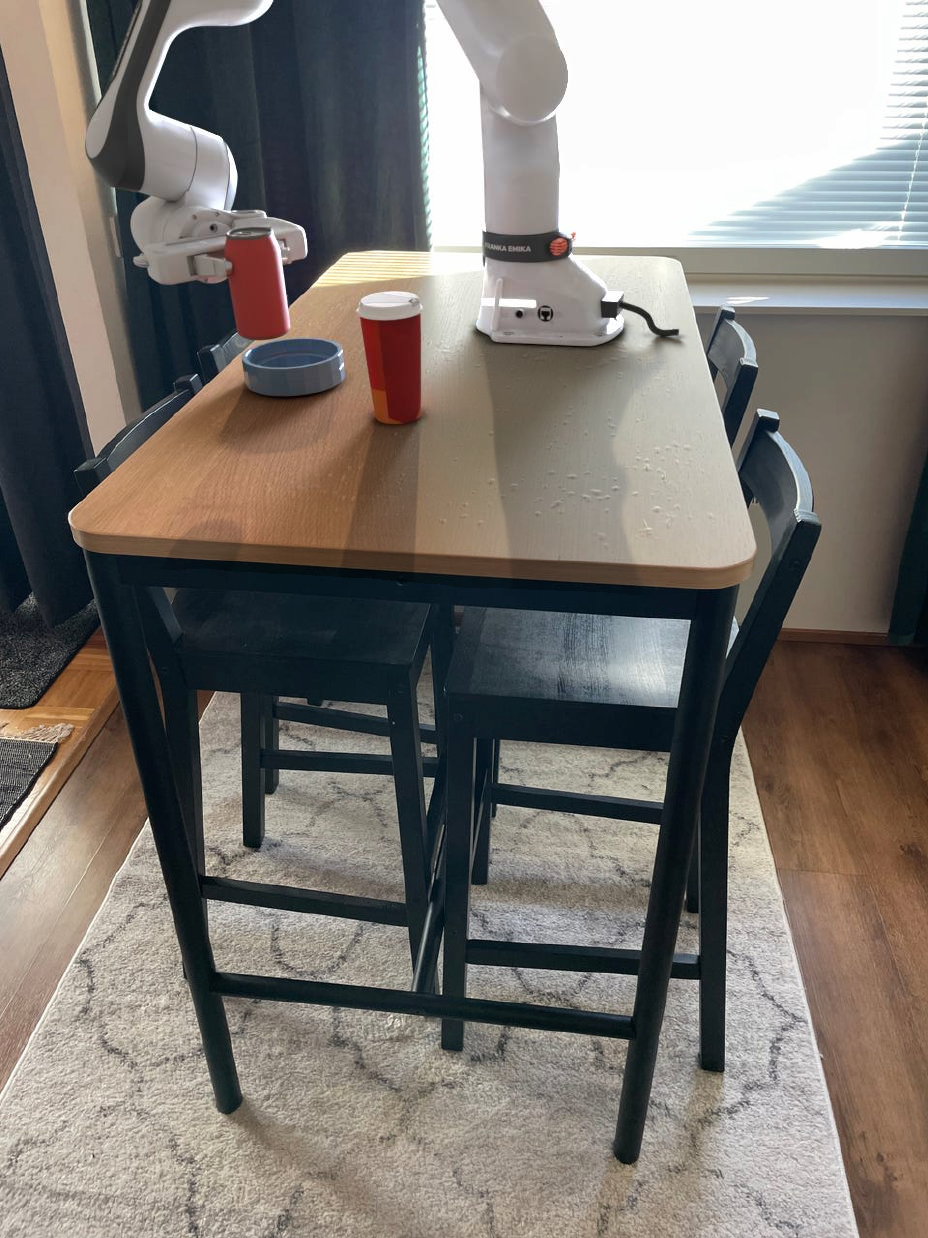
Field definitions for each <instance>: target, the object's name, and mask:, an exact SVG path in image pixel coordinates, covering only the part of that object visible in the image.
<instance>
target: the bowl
mask: <svg viewBox="0 0 928 1238" xmlns="http://www.w3.org/2000/svg"><path fill="white" fill-rule="evenodd" d="M344 362H345V361H344V352H343V348H342V345H341V344H339V343H338V342H336V341H333V340H330V339H326V338H319V337H290V338H289V337H288V338H281V339H276V340H268V341H266V342H263V343H259V344H256V345H254V346H252V347H249V348H248V349H247V350H245V351H244V352H243V353H242V354H241V365H242V369H243V376H244V382H245V386H246V388H247V389H248V390H249V391H251V392H254V393H256V394H259V395H264V396H270V397H294V396H304V395H310V394H316V393H320V392H323V391H326V390H329V389H332V388H334V387H336V386H337V385H339V384H341V383H342V382H343V381H344V380H345V378H346V373H345V371H346V370H345V363H344Z"/></svg>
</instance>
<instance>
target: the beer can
mask: <svg viewBox="0 0 928 1238" xmlns="http://www.w3.org/2000/svg"><path fill="white" fill-rule="evenodd" d="M226 237H227V238H226V242H225V249H224V255H225V258H227V259H230V260H231V261H232V264H233V266H232V269H233V271H234V274H233V275H230V276H228V278H227V279H228V285H229V291H230V297H231V303H232V307H233V308H232V309H233V314H234V320H235V321H234V322H235V327H236V332H237V334H238V335H239V336H240V337H241V338H243V339H246V340H249V341H271V340H274V339H278V338H281V337H283V336H286V335H287V334H288V333H289V332H290V330H291V321H290V320H291V319H290V313H289V307H288V298H287V291H286V283H285V276H284V268H283V265H282V260H281V252H280V248H279V245H278V243H277V241H276V239H275V237H274V235H273V230H272V229H270V228H266V227H245V228H238V229H233V230H230V231H228V232H227V233H226Z"/></svg>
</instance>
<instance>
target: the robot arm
mask: <svg viewBox="0 0 928 1238" xmlns="http://www.w3.org/2000/svg"><path fill="white" fill-rule="evenodd" d="M273 2H274V0H138V1H137V3H136V5H135V9H134V11H133V13H132V16H131V20H130V22H129V25H128V28H127V30H126V34H125V35H124V39H123V41H122V44H121V47H120V50H119V52H118V54H117V58H116V61H115V63H114V66H113V68H112V71H111V73H110V77H109V78H108V82H107V84H106V86H105V89H104V90H103V93H102V95H101V97H100V99H99V101H98V103H97V104H96V106H95V109H94V110H93V112H92V115H91V117H90V118H91V119H90V121H89V123H88V126H87V129H86V134H85V141H84V151H85V155H86V157H87V159H88V162H89V164H90V165H91V167H92V168H93V170H94V172H95V173H96V174H97V176H98V177H99V178H100V179H101V180H102V182H104V183H105V185H106V186H108V187H110V188H113V189H119V190H123V191H128V192H133V193H140V194H144V195H148V197H147V198H146V199H145V200H143V201H142V202H140V203H139V204H138V205H137V206H135V208H134V210H133V211H132V214H131V217H130V230H131V231H130V232H131V234H132V238H133V240H134V242H135V244H136V245H137V247H138V249H139V250H140V251H141V253H140V254H139V255H138V256H133V260H132V261H133V263H134V265H135V266H137V267H140V268H146V269H147V273H148V276H149V277H151V279H152V280H154V281H155V282H157V283H159V284H160V285H165V286H171V285H178V284H183V283H188V282H193V281H199V282H200V283H204V284H218V283H221V282H223V281H225V280H227V279H228V276H230V275H233V274H234V271H233V269H232V266H233V264H232V261H231V260H230V259H227V258H225V255H224V249H225V242H226V238H227V237H226V233H227V232H228V231H230V230H233V229H238V228H245V227H266V228H270V229H272V230H273V235H274V237H275V239H276V241H277V243H278V245H279V248H280V252H281V260H282V266H284V265H290V264H292V262H294V261H299V260H303V259H305V258H306V257H307V254H308V242H307V236H306V232H305V229H304V228H303V227H302V226H300V225H298V224H295V223H293V222H291V221H287V220H284V219H281V218H276V217H269V216H267V215H266V212H265V211H264V210H260V209H241V210H240V209H239V210H232V207H233V204H234V202H235V198H236V194H237V186H238V172H237V168H236V164H235V160H234V157H233V154H232V152H231V149H230V148H229V146H228V144H227V143H226V142H225V140H224V139H223V138H222V137H221V136H220V135H216V134H214V133H211V132H209V131H207V130H205V129H202V128H200V127H196V126H194V125H191V124H188V123H184V122H182V121H179V120H176V119H173V118H170V117H168V116H165V115H162V114H161V113H158V112H155V111H152V110H151V109H150V108H149V101H150V98H151V96H152V94H153V90H154V89H155V85H156V83H157V80H158V78H159V74H160V72H161V69H162V66H163V64H164V62H165V59H166V56H167V53H168V51H169V49H170V46H171V44H172V42H173V41H174V40H175V38H176V37H177V36H178V35H179V34H181V33H182V32H184V31H186V30H189V29H191V28H196V27H235V26H242V25H245V24H249V23H251V22H253V21H255V20H257V19H259V18H260V17H261V16H263V15H264V14H265V13H266V12H267V11H268V10H269V8H270V7H271V5H272V4H273ZM435 2H436V4H437V5H438V8H439V9H440V11H441V13H442V15H443V16H444V18H445V20H446V22H447V23H448V25H449V27H450V29H451V31H452V32H453V35H454V36H455V38H456V41H457V42H458V44H459V46H460V48H461V49H462V51H463V53H464V55H465V56H466V58H467V60H468V62H469V64H470V66H471V68H472V70H473V72H474V73H475V76H476V77H477V80H478V82H479V83H478V84H479V86H478V87H479V104H480V105H479V108H480V126H481V128H480V129H481V145H482V161H483V187H484V189H483V190H484V227H483V229H482V230H481V232H482V235H481V236H482V237H481V256H482V266H483V268H484V272H483V273H484V274H483V287H482V296H481V302H480V308H479V313H478V317H477V320H476V324H475V326H476V328H477V329H478V331H480V332H481V333H483V334H485V335H488V336H489V337H490V339H491V341H493V342H496V343H505V344H506V343H507V344H511V343H512V344H532V345H533V344H534V345H549V346H550V345H551V346H552V345H553V346H572V347H573V346H577V347H594V346H598V345H601V344H604V343H607V342H609V341H612V340H613V339H615V338H616V337H617V336H618V335H619V334H620V333H621V332H622V331H623V330H624V318H623V317H622V315H620V314H621V313H622V311H623V310H625V311H628V312H632V313H634V314H637V315H639V316H640V317H642V318H643V319H644V320H645V322H646V325H647V327H648V329H649V331H650V332H651V333H653V334H654V335H656V336H659V337H673V336H677V337H678V336H679V335H680V328H666V329H665V328H664V329H663V328H659V327H658V326H657V325H656V323H655V322H654V319H653V317H652V315H651V314H650V313H649V312H648V311H647V310H645V309H644V308H642V307H640V306H638V305H635V304H633V303H630V302H626V301H624V299H625V298H624V297H625V292H624V291H608V288H607V286H606V284H605V282H604V281H603V280H602V279H600V278H599V277H598V276H597V275H596V274H594V273H593V272H592V271H591V270H590V269H589V268H588V267H587V266H585V265H584V264H583V263H582V262H581V261H580V260H579V259H577V257H575V256H574V255H573V245H574V244H573V242H575V241H576V240H577V238H575V237H576V234H577V232H575V231H574V232H571V233H569V232H568V231H567V230H566V229H565V228H564V227H563V226H562V225H561V220H562V219H561V216H562V173H563V165H562V159H561V158H562V157H561V147H560V146H561V144H560V128H559V127H560V126H559V125H560V124H559V109H560V108H561V107H562V106H563V103H564V101H565V100H566V98H567V95H568V92H569V90H570V89H569V88H570V84H571V66H570V61H569V58H568V54H567V53H566V50H565V49H564V46H563V45H562V42H561V40H560V38H559V36H558V34H557V32H556V31H555V28H554V27H553V24H552V23H551V21H550V19H549V17H548V15H547V13H546V11H545V9H544V8H543V5H542V4H541V2H540V0H435Z"/></svg>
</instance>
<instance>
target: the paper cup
mask: <svg viewBox="0 0 928 1238" xmlns="http://www.w3.org/2000/svg"><path fill="white" fill-rule="evenodd" d="M420 301H421V300H420V298H419V296H418V295H417V294H415V293H413V292H408V291H399V290H398V291H396V290H395V291H392V290H391V291H379V292H375V293H371V294H368V295H365V296H363V297H361V299H360V301H359V302H358V308H356V310H355V313H356V315H357V316H358V317H359V320H360V327H361V334H362V341H363V347H364V353H365V361H366V366H367V373H368V381H369V386H370V392H371V400H372V405H373V410H374V416H375V419H376V420H377V421H378V422H380V423H382V424H387V425H402V424H409V423H412V422H415V421H417V420H418V419H419V418H420V417H421V413H422V312H423V311H424V307H423V304H421V302H420Z"/></svg>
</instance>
